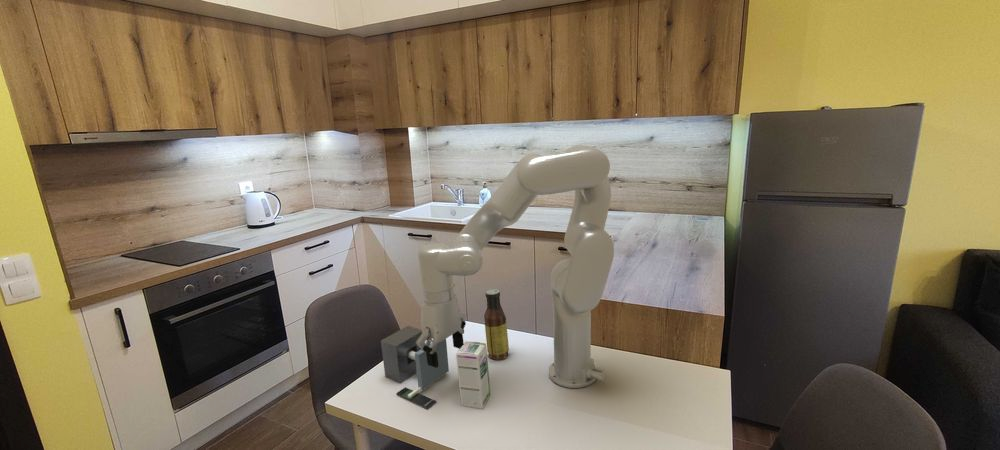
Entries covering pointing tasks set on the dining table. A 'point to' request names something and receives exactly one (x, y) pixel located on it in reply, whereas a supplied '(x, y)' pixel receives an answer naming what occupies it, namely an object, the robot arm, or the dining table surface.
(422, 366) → the blue-grey plate with rod
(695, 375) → the dining table surface
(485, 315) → the sauce bottle
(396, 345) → the frame
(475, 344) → the syrup box
